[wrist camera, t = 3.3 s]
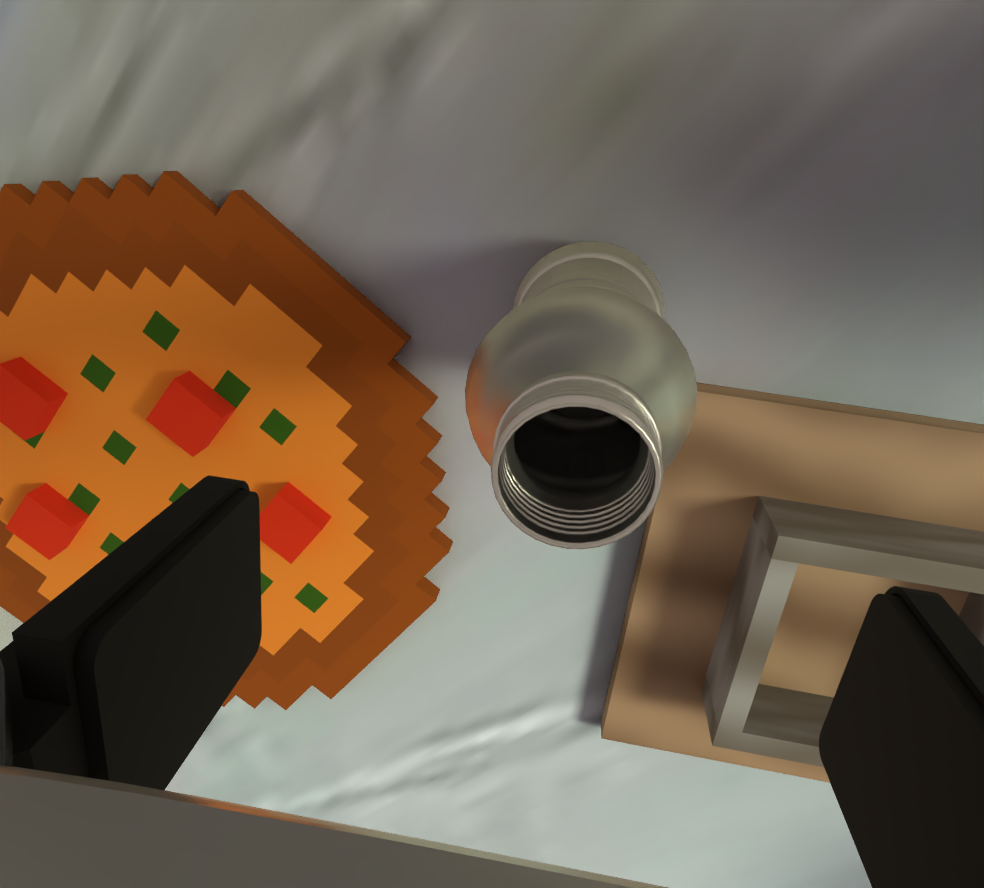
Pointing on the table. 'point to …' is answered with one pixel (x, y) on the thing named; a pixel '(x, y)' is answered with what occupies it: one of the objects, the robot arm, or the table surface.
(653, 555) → the collar board
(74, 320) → the pizza
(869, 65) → the table surface
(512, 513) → the plastic bottle
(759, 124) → the table surface
